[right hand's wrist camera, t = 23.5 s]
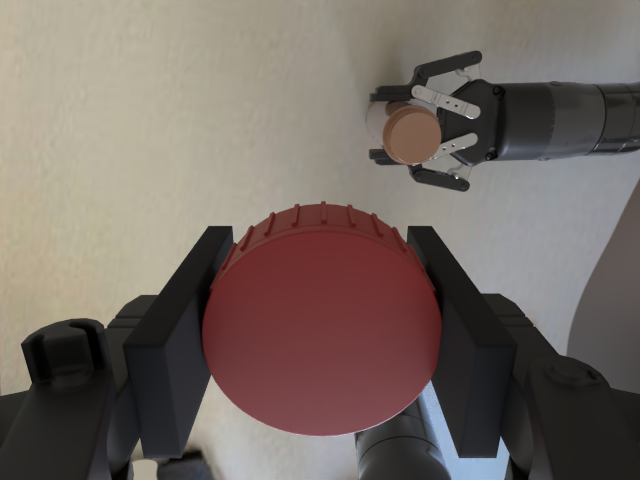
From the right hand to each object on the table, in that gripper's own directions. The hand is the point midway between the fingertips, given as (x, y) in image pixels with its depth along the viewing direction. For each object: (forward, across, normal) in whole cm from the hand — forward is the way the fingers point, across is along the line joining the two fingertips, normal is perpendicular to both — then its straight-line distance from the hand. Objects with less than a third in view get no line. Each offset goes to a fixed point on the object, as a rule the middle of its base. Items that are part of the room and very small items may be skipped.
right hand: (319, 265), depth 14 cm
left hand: (+32, +5, +1) cm, 33 cm away
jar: (+39, +8, +1) cm, 40 cm away
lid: (-4, 0, 0) cm, 4 cm away
